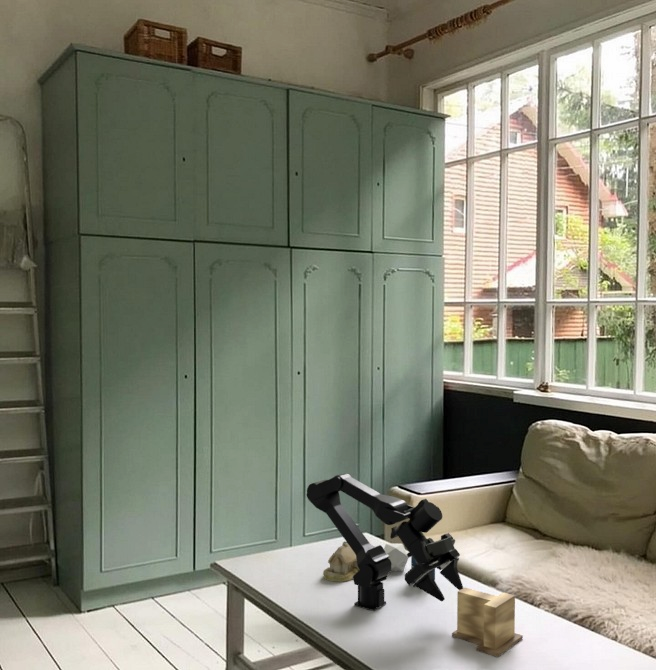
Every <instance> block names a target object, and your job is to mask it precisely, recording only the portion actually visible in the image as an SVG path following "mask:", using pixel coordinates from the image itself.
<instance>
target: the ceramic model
mask: <svg viewBox="0 0 656 670" xmlns="http://www.w3.org/2000/svg"><path fill="white" fill-rule="evenodd" d="M327 563H328V564H329V567H327V568H325V569H323V572H322V575H323V577H324V579H325V580H327V581H330V582H347V581H348V582H349V581H351V580H353V576H354V575H355V574H356V573H357V572H358V571H359V568H358V566H357V559H356V555H355V553H354V552H353V550H352V549H351V547H350V546H349V545H348V543H347V542H346V540H344V541H343V542H342V545H340V546H338V547H337V549H336V550H335V551H334V552H333V553H332V555H331V556H330V557H329V559H328V561H327Z"/></svg>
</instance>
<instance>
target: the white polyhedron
mask: <svg viewBox="0 0 656 670" xmlns="http://www.w3.org/2000/svg"><path fill="white" fill-rule="evenodd" d="M383 549H384V551H385V552H386V553H387V554H388V555H389V556H390V557H389V559H390V561H391V563H392V565H391V572H404V570H405V569H406V566H407V563H408V560H409V559H410V557H408V556H407V554H408V552H407V549H406V547H405V545H404V544H403V543H386V544H385V546H384V547H383Z"/></svg>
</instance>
